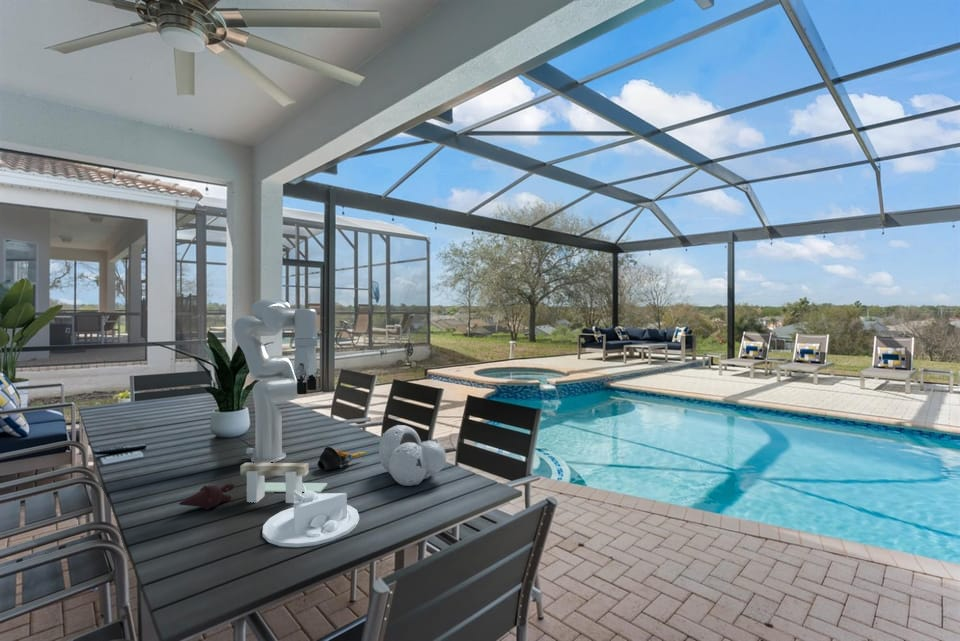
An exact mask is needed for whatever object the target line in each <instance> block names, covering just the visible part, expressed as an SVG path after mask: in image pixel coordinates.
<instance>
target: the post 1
mask: <svg viewBox="0 0 960 641" xmlns="http://www.w3.org/2000/svg"><path fill="white" fill-rule="evenodd" d="M245 476H246V490H247V492H246V503H247V502H249V503H250V502H251V504H252V503H253V502H254V503H255V504H257V503H258V502H260V500H262V499H263V498H264V497H265V496H266V495H265V494H266V492H265V476H258V471H247V472H246V475H245Z"/></svg>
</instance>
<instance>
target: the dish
mask: <svg viewBox="0 0 960 641" xmlns="http://www.w3.org/2000/svg"><path fill="white" fill-rule="evenodd" d="M300 482H301V484H302V486H303V489H304V491H305V492H304V493H302V494H300V493H298V492H297V491H295V490H294V491H293V492H292V494H293V495H294V503H293V507H289V508H288V509H284V510H281V511H279V512H278V513H276V514H274V515H273V516H271V517H269V518H268V519H267V520H266V522H265V523H264V524H263V525H262V537H263V538H264V540H266V542H268V543H270V544H273V545H276V546H278V547H284V548H285V547H287V548H303V547H304V548H305V547H312V546H313V547H315V546H318V545H321V544H325V543H330V542H333V541H335V540H338V539H340V538H341V537H345V536H346V535H347V534H349V533H350V532H352V531H353V530H354V529H356V527H357V526H358V523H359V521H360V514H359V513H358V512H359V511H358V510H357V509H356V508H354V507H353V506H351V505H350V504H348V493H347V492H343V493H342V492H339V493H337V492H336V493H335V492H333V493H332V492H331V493H330V492H329V493H327V492H325V493H323V492H320V493H316V492H314V491H306V488H305V486H304V484H303V483H304V482H303V480H302V481H300ZM356 525H357V526H356Z"/></svg>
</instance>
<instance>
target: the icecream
mask: <svg viewBox="0 0 960 641" xmlns="http://www.w3.org/2000/svg"><path fill="white" fill-rule="evenodd" d="M235 486H236V485H235V484H234V483H233V482H230V483H227V484H226V483H225V485H223V486H221V487H219V486H217V485H204V486H202V487H201V488H200V489H199V491H198V492H196V493H194V494H193V495H191V496H189V497H188V498H185V499H184V500H182V501H181V502H179V503H178V504H179V506H189V507H190V506H191V507H199V508H202V509H203V510H206V511H208V510H209V509H212V508H214V507H216V506H218V505H219V504H220V503H224V502H225V503H226V502H229V501H231V499H233V498H232V497H233V496H232V495H231V494H224V493H229V492H231V491H233V489H234V488H235Z"/></svg>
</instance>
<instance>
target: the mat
mask: <svg viewBox="0 0 960 641" xmlns="http://www.w3.org/2000/svg"><path fill="white" fill-rule="evenodd" d="M302 483H303V484H304V486H305V488H306V491H314V492H316V493H322V492H323V491H324V489H325V488H327V486H328V482H302ZM245 492H246V493H247V489H246V491H245ZM274 492H286V482H265V493H274ZM302 492H305V491H304V489H303V486H302Z"/></svg>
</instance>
